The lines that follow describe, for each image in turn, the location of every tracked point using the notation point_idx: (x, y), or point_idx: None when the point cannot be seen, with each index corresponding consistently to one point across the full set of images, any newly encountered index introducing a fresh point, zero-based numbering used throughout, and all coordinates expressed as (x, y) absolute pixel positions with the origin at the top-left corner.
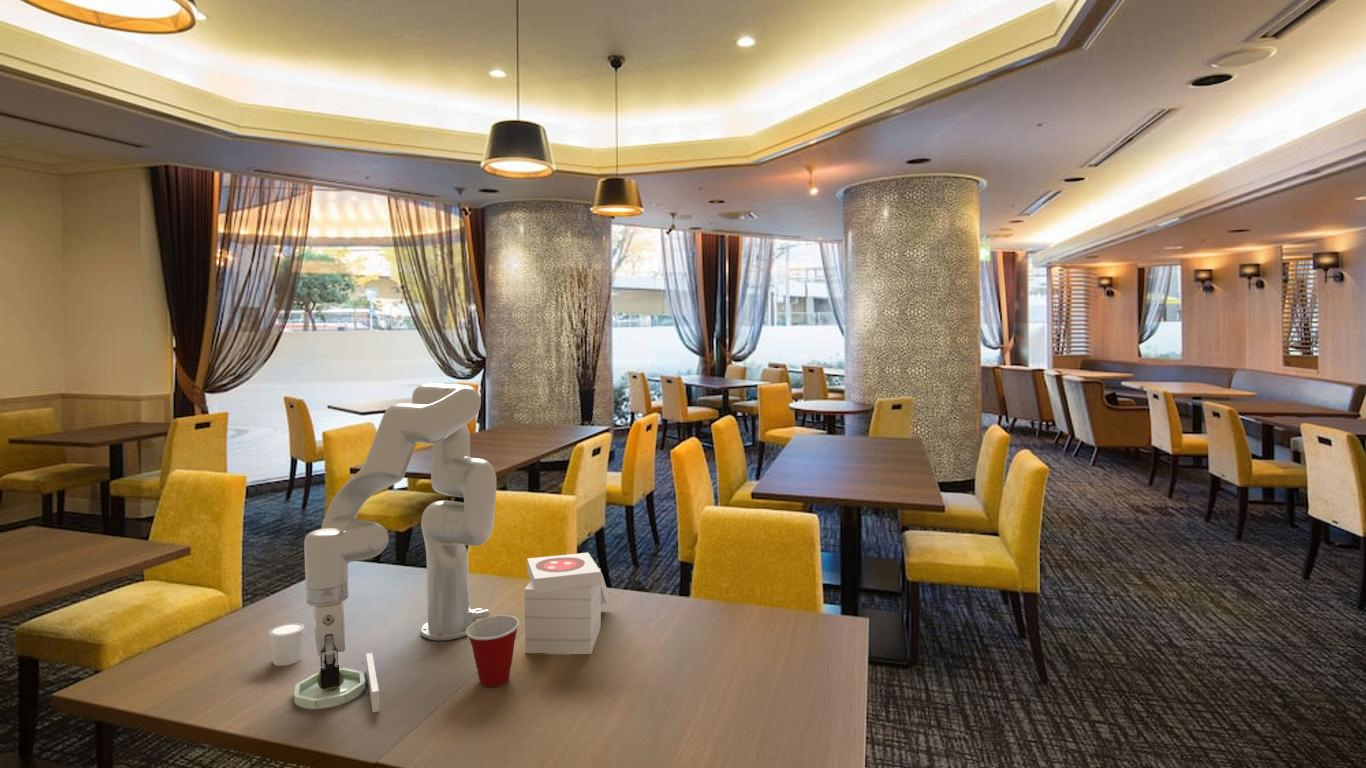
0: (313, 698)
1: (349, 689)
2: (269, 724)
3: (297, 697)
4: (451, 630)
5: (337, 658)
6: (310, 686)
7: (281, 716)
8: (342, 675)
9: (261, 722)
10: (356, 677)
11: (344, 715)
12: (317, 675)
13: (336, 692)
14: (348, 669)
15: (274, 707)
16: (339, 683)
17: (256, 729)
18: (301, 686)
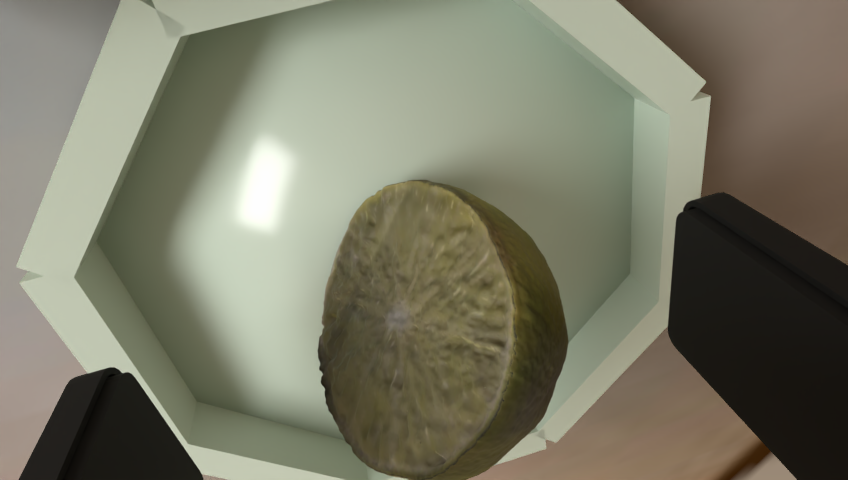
0: (635, 330)
1: (451, 86)
2: (678, 427)
3: (570, 427)
4: None
5: (81, 430)
6: (308, 409)
7: (622, 410)
8: (490, 219)
9: (638, 464)
10: (177, 66)
11: (835, 34)
12: (190, 436)
13: (475, 194)
14: (63, 204)
15: (500, 475)
16: (731, 196)
17: (695, 456)
18: (351, 462)
